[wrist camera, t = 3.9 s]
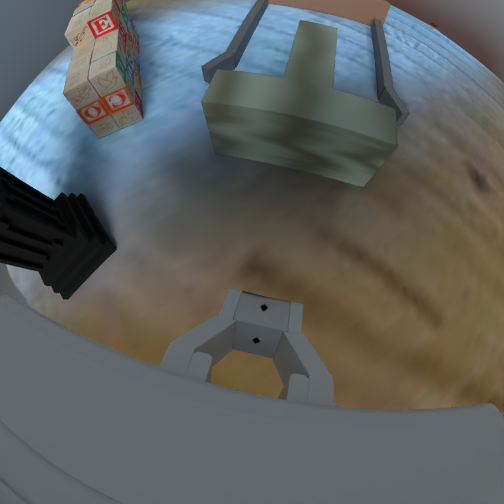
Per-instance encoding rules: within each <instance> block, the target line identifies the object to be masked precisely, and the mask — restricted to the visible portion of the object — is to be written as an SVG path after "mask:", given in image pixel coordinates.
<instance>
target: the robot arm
mask: <svg viewBox="0 0 504 504" xmlns="http://www.w3.org/2000/svg"><path fill="white" fill-rule="evenodd" d="M302 320H303V304H300V303H295V302H289V301H285V300H280V299H275V298H271V297H266V296H262V295H258V294H254V293H250V292H246V291H241V290H237V289H234V288H229V290H228V292H227V295H226V298H225V300H224V303H223V306H222V308H221V311H220V314H219V316H217V315H215V316H213V317H211V318H210V319H208V320H206V321H205V322H203V323H201V324H200V325H198V326H196V327H195V328H193V329H191V330H190V331H188V332H186V333H185V334H183V335H181V336H180V337H178V338H176V339H175V340H173V341H171V342H170V344H169V346H168V348H167V350H166V353H165V355H164V357H163V359H162V361H161V363H160V365H159V367H157V366H154V365H151V364H148V363H146V362H143V361H140V360H138V359H135V358H133V357H130V356H127V355H125V354H123V353H120V352H118V351H115V350H113V349H111V348H108V347H106V346H104V345H101V344H99V343H97V342H95V341H93V340H90V339H88V338H86V337H84V336H82V335H80V334H78V333H76V332H74V331H72V330H70V329H68V328H66V327H64V326H62V325H60V324H58V323H57V322H55V321H53V320H51V319H49V318H47V317H46V316H44V315H42V314H40V313H39V312H37V311H35V310H33V309H32V308H30V307H28V306H27V305H25V304H24V303H22V302H20V301H19V300H17V299H16V298H14V297H13V296H11V295H9V294H7V293H1V294H0V504H504V416H503V415H502V414H501V413H500V411H499V410H498V409H497V408H496V407H495V406H494V405H493V404H491V403H485V404H478V405H470V406H461V407H451V408H437V409H409V410H394V409H364V408H349V407H338V406H333V393H334V379H333V377H332V376H331V374H330V373H329V371H328V369H327V368H326V366H325V365H324V363H323V362H322V360H321V359H320V357H319V356H318V354H317V353H316V351H315V350H314V348H313V347H312V345H311V344H310V342H309V341H308V339H307V338H306V336H305V335H302ZM232 349H233V350H237V351H242V352H247V353H252V354H256V355H260V356H264V357H268V358H273V361H274V364H275V366H276V368H277V370H278V373H279V375H280V377H281V379H282V382H283V384H284V388H283V390H282V391H281V393H280V395H279V397H278V398H273V397H268V396H263V395H258V394H253V393H248V392H244V391H239V390H235V389H231V388H227V387H223V386H219V385H215V384H211V372H212V367H213V366H214V365H215V364H216V363H218V362H219V361H220V360H221V359H222V358H224V357H225V356H226V355H227V354H228V353H229V352H231V351H232Z"/></svg>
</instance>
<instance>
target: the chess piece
mask: <svg viewBox="0 0 504 504" xmlns="http://www.w3.org/2000/svg"><path fill="white" fill-rule="evenodd" d="M116 250H117V249H116V248H115V246H114V245H113V243H112V241H111V240H110V238H109V237H108V235H107V233H106V232H105V230H104V228H103V227H102V225H101V224H100V222H99V220H98V218H97V217H96V215H95V213H94V212H93V210H92V208H91V206H90V205H89V203H88V201H87V199H86V197H85V196H84V195H83V194H80V195H79V196H78V197H76V195H74V194H73V193H71V194H70V195H69V196H68V197H67V196H66V195H65V194H64V193H61V194H60V195H59V196H58V197H57V198H56V199H55V200H53V199H51V198H49V197H48V196H46V195H44V194H43V193H41V192H39V191H38V190H36V189H34V188H33V187H31V186H30V185H28V184H26V183H25V182H23V181H22V180H20V179H18V178H17V177H15V176H14V175H12V174H10V173H9V172H7V171H6V170H4V169H3V168H1V167H0V262H1V263H4V264H8V265H12V266H16V267H21V268H25V269H29V270H34V271H38V272H39V273H40V276H41V278H42V280H43V283H44V285H46V286H50V285H51V287H52V289H53V291H54V293H60V294H61V296H62V298H63V299H67V300H68V299H69V298H70V297H71V296H72V294H73V293H74V292H75V291H76V290H77V289H78V288H79V287H80V286H81V285H82V284H83V283H84V282H85V281H86V280H87V279H88V277H89V276H90V275H91V274H92V273H93V272H94V271H95V270H96V269H97V268H98V267H99V266H100V265H101V264H102V263H103V262H104V261H105V260H106V259H107V258H108V257H109V256H110V255H111V254H112V253H113V252H114V251H116Z"/></svg>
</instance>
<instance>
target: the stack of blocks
mask: <svg viewBox="0 0 504 504" xmlns="http://www.w3.org/2000/svg"><path fill="white" fill-rule="evenodd" d="M65 36H66V38H67V39H68V41H69V43H70V45H71V46H72V48H73V50H74V53H73V56H72V59H71V63H70V65H69V68H68V72H67V76H66V82H65V86H64V91H63V94H64V96H65V97H66V98H67V100H68V101H69V102H70V103H71V104H72V106H73V107H74V108H75V109H76V112H77V113H78V115H79V116H80V117H81V118H82V119H83V121H84V122H85V123H86V124H87V125H88V126H89V127H90V129H91V130H92V131H93V132H94V133H95V134H96V135H97V137H98V138H102V137H104V136H106V135H108V134H110V133H113V132H115V131H117V130H119V129H122V128H124V127H127V126H129V125H131V124H134V123H136V122H139V121H141V120H143V112H142V104H141V103H142V94H141V78H140V69H139V36H138V34H137V31H136V29H135V26H134V25H133V22H132V20H131V18H130V15H129V12H128V9H127V6H126V4H125V2H124V0H85V1H83V2H82V3H80V4H79V6H78V8H77V9H76V10H75V12H74V14H73V17H72V18H71V20H70V23H69V26H68V28H67V30H66V32H65Z"/></svg>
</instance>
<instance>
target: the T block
mask: <svg viewBox="0 0 504 504" xmlns="http://www.w3.org/2000/svg"><path fill="white" fill-rule="evenodd" d="M336 42H337V28H335V27H331V26H326V25H322V24H318V23H313V22H308V21H303V20H300V22H299V26H298V29H297V32H296V36H295V39H294V42H293V46H292V49H291V53H290V56H289V60H288V63H287V67H286V70H285V74H284V77H283V78H282V77H277V76H270V75H264V74H257V73H249V72H241V71H231V70H219V69H217V71H216V73H215V75H214V77H213V79H212V81H211V83H210V85H209V87H208V89H207V91H206V93H205V95H204V97H203V99H202V101H201V103H202V106H203V110H204V114H205V118H206V121H207V125H208V129H209V132H210V136H211V140H212V144H213V147H214V151H215V154H220V155H226V156H232V157H238V158H243V159H249V160H254V161H259V162H264V163H269V164H273V165H278V166H283V167H287V168H292V169H296V170H300V171H304V172H308V173H312V174H316V175H320V176H324V177H328V178H332V179H336V180H339V181H343V182H346V183H350V184H353V185H357V186H360V187H364V186H365V185H366V184H367V182H368V181H369V180H370V179H371V178H372V176H373V175H374V174H375V173H376V172H377V170H378V169H379V168H380V167H381V166H382V164H383V163H384V162H385V161H386V160H387V158H388V157H389V156H390V155H391V153H392V152H393V151H394V150H395V148H396V147H397V125H396V112H395V109H394V108H391V107H388V106H386V105H383V104H380V103H377V102H374V101H372V100H369V99H366V98H362V97H359V96H356V95H353V94H350V93H346V92H343V91H339V90H336V89H333V79H334V68H335V56H336Z"/></svg>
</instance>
